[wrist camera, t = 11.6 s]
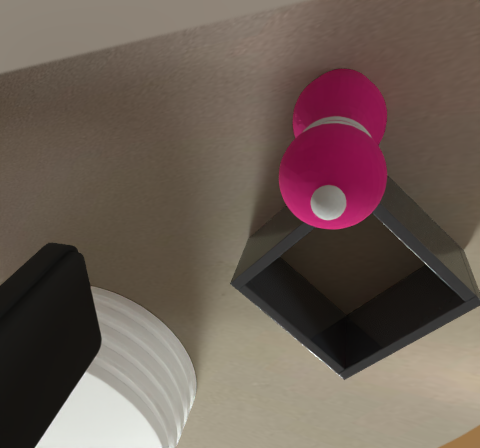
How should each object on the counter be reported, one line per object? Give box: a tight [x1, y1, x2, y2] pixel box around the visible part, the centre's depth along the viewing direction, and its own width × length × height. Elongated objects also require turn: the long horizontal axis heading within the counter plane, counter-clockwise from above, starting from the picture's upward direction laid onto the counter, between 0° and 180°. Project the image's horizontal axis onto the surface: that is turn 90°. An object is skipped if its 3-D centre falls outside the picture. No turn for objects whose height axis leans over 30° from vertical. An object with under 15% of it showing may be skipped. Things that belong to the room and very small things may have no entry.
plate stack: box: [35, 286, 197, 448], centre depth 58 cm, size 28×28×12 cm
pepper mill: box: [279, 69, 387, 229], centre depth 30 cm, size 7×7×20 cm
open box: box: [230, 175, 480, 380], centre depth 42 cm, size 15×15×8 cm
